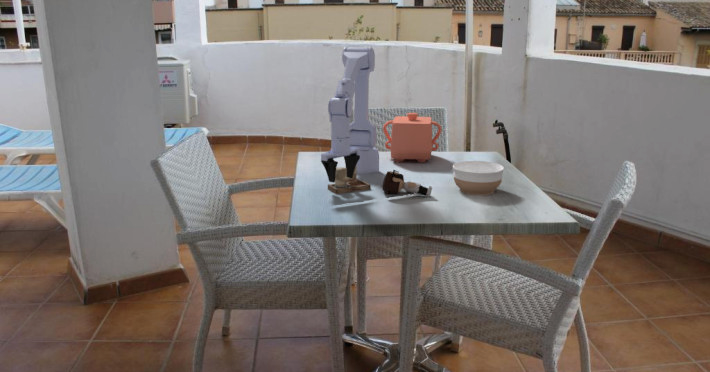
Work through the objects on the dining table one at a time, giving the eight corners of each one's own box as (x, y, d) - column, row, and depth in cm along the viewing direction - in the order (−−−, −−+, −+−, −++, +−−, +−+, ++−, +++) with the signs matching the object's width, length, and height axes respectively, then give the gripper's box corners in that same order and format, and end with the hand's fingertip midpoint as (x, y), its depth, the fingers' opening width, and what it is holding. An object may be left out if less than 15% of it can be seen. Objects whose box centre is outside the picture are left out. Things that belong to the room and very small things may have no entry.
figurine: (434, 179, 181) (386, 166, 183) (427, 205, 180) (379, 191, 181) (432, 186, 190) (386, 173, 192) (425, 210, 188) (379, 197, 190)
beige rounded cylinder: (342, 186, 192) (342, 166, 191) (349, 189, 189) (349, 169, 187) (332, 188, 190) (331, 168, 188) (339, 191, 187) (339, 170, 185)
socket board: (361, 186, 196) (361, 180, 196) (370, 191, 191) (370, 184, 190) (327, 191, 191) (327, 184, 191) (336, 196, 186) (336, 189, 185)
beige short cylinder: (353, 180, 201) (353, 161, 200) (359, 182, 198) (359, 163, 196) (343, 181, 200) (342, 162, 198) (348, 184, 196) (348, 164, 194)
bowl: (472, 200, 182) (473, 175, 180) (441, 187, 196) (442, 163, 193) (513, 193, 189) (515, 169, 187) (480, 181, 203) (482, 158, 201)
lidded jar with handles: (386, 149, 253) (386, 106, 248) (440, 150, 250) (442, 107, 245) (380, 162, 229) (380, 116, 224) (440, 164, 226) (442, 117, 221)
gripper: (348, 132, 193) (348, 173, 196) (314, 138, 183) (314, 181, 187) (364, 135, 188) (364, 177, 192) (329, 141, 178) (330, 185, 182)
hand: (340, 179), depth 189 cm, fingers open, 7 cm apart
